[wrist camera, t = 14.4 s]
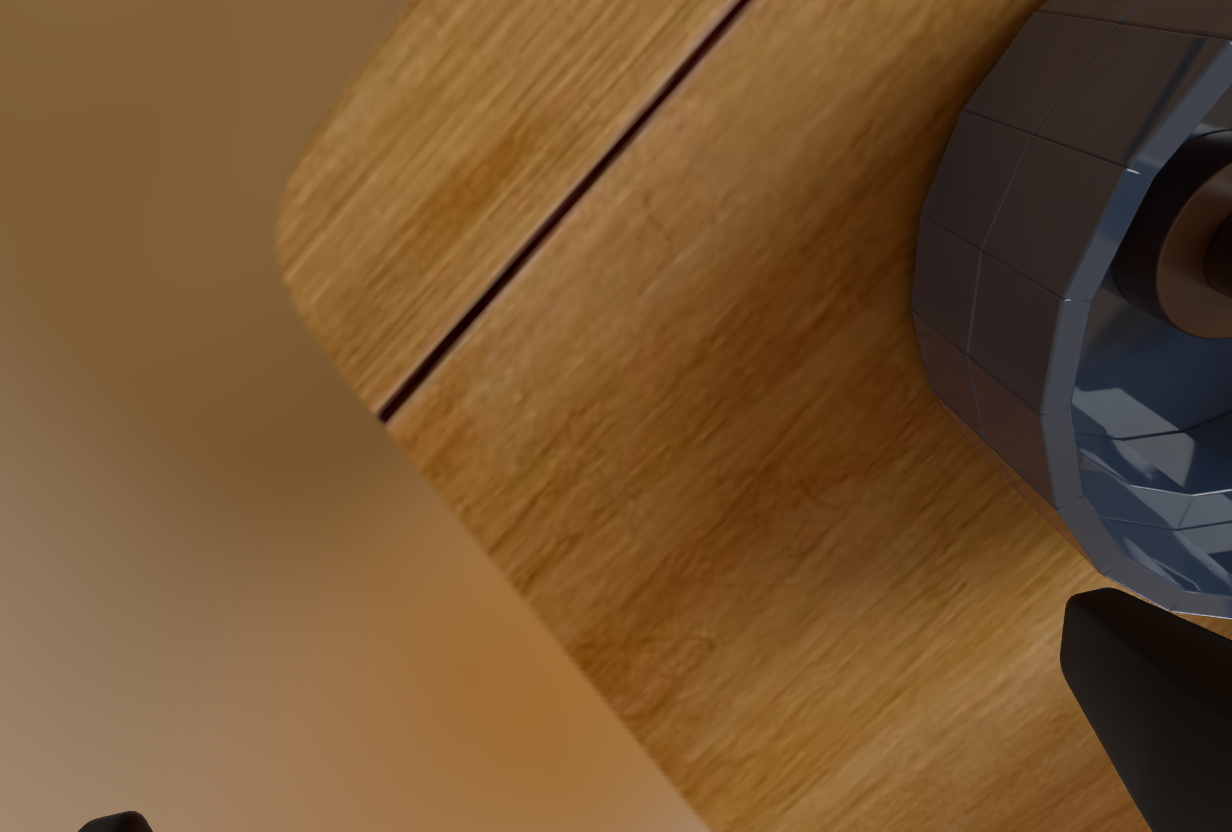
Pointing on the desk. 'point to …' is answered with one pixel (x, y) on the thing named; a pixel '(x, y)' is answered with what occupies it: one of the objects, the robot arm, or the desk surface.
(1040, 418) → the bowl
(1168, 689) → the robot arm
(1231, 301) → the stirring stick
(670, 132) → the desk surface
